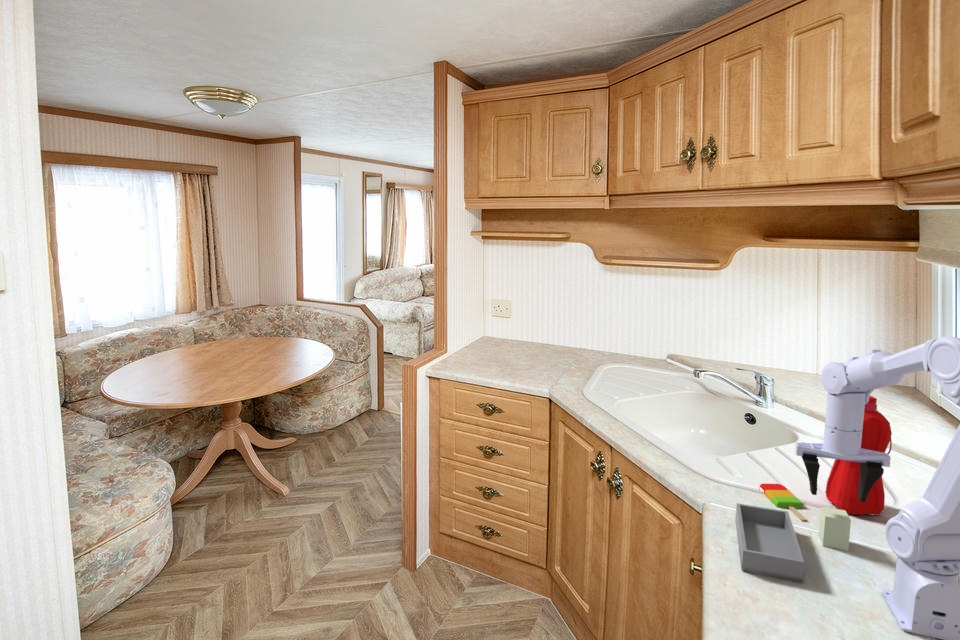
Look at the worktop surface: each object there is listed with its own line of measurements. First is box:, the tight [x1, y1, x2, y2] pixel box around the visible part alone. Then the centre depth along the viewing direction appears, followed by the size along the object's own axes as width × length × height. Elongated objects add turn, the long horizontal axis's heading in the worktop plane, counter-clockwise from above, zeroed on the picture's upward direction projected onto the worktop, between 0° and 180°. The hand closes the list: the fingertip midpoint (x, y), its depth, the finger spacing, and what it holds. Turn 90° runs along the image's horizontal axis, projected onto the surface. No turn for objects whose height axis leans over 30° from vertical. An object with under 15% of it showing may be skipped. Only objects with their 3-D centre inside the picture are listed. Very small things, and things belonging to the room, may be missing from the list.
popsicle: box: [759, 483, 807, 522], centre depth 115 cm, size 6×15×2 cm, turn 176°
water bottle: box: [824, 395, 893, 516], centre depth 112 cm, size 9×11×25 cm
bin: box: [735, 503, 805, 584], centre depth 98 cm, size 18×9×4 cm, turn 157°
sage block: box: [818, 506, 852, 552], centre depth 99 cm, size 4×4×6 cm
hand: (837, 496), depth 99 cm, fingers open, 7 cm apart
